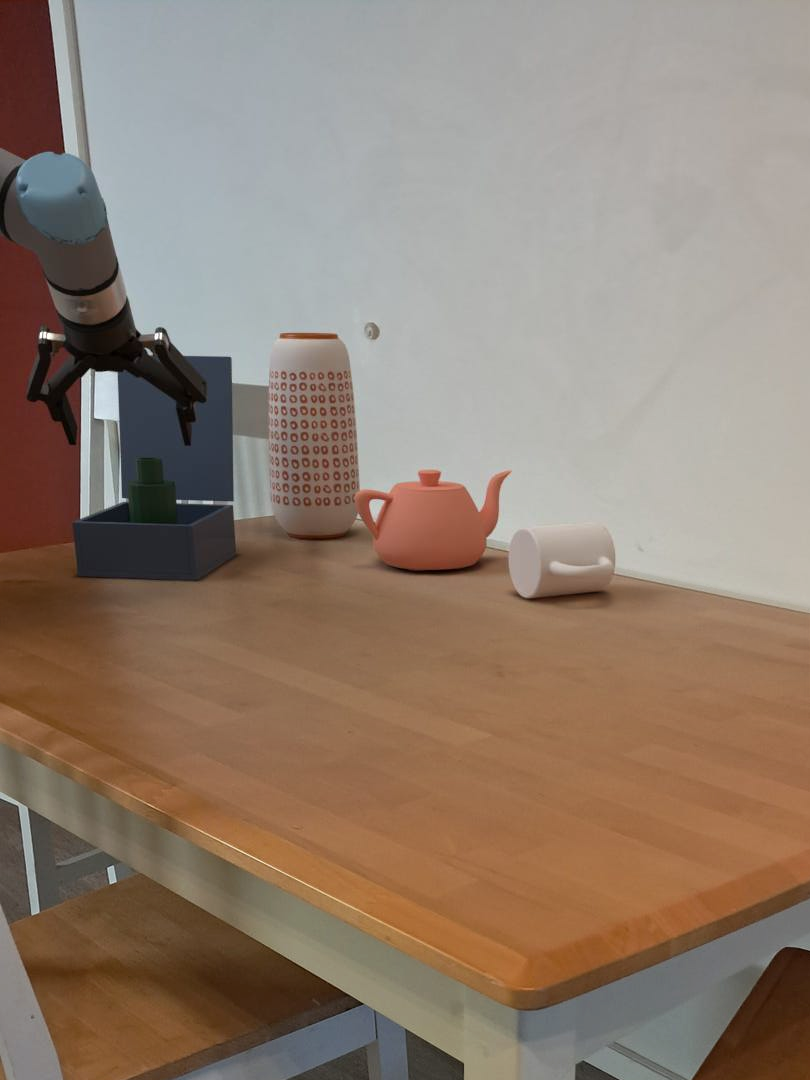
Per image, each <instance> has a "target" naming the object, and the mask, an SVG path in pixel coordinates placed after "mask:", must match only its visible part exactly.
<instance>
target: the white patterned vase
mask: <svg viewBox="0 0 810 1080" xmlns="http://www.w3.org/2000/svg"><path fill="white" fill-rule="evenodd" d="M348 351H349V350H348V348H347V346H346V344H345V342H344V341H343V340H342V339H340V338H339V335H338V333H332V332H331V333H330V332H280V333H279V338H277V339H276V340H275V341H274V342H273V344H272V346H271V350H270V354H269V355H270V356H269V371H268V373H269V374H268V451H269V452H268V462H269V463H268V464H269V465H268V466H269V495H270V496H269V497H270V504H271V505H270V506H271V510H272V513H273V515H274V518H275V520H276V521H277V523H278V524H279V525H280V527H281V528H282V529H283V530H284V531H285V532H286V534H287V535H288V536H289V537H291V538H297V539H303V540H326V539H335V538H340V537H343V536H345V535H347V533H348V531H349V530H350V529H351V527H352V526H353V525H354V523H355V521H356V519H357V517H358V515H359V514H358V511H357V509H356V506H355V498H354V497H355V494H356V493H357V492H358V491H360V490H361V489H360V488H361V486H360V471H359V470H360V469H359V451H358V450H359V449H358V433H357V420H356V419H357V418H356V406H355V396H354V386H353V377H352V369H351V362H350V354H349V352H348Z"/></svg>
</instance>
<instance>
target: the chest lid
mask: <svg viewBox="0 0 810 1080" xmlns="http://www.w3.org/2000/svg"><path fill="white" fill-rule="evenodd" d="M149 355H150V356H151V357H152V358H154V359H155V360H157V361H158V362H159V363H161V362H160V360H159V358H158V357H154V356H153V354H149ZM183 356H184V357H185V358H186V359H187V360H188V362H189V363H190V364H191V365H192V366H193V367H194V368H195V369H196V370H197V371H198V373H199V374H200V375H201V376H202V377H203V378H204V379H205V380H206V381H207V401H206V402H205V403H199V402H197V401H196V402H195V405H196V409H197V412H196V421H195V422H191V426H192V436H191V446H185V445H184V441H183V436H182V432H181V428H180V424H179V420H178V416H177V411H176V401H175V400H174V399H172V398H171V397H169V396H168V395H166V394H165V393H163V392H162V391H161V390H159V389H158V388H156V387H155V386H153V385H152V384H150V383H149V382H147V381H146V380H144V379H143V378H142V377H139V378H136V377H135V376H133V375H132V374H130V373H129V372H127V371H126V370H124V372H117V390H118V391H117V395H118V398H117V399H118V400H117V401H118V425H119V426H118V427H119V450H120V451H119V453H120V454H119V455H120V482H121V498H122V499H128V490H127V483H128V482H131V481H137V469H136V458H142V457H158V458H162V466H163V478H164V480H169V481H174V482H175V490H176V501H201V502H202V501H204V502H234V501H235V498H234V497H235V495H234V494H235V493H234V491H235V489H234V488H235V487H234V485H235V484H234V431H233V430H234V427H233V425H234V424H233V423H234V422H233V370H232V369H233V364H232V363H233V359H232V357H231V356H222V355H221V356H219V355H218V356H217V355H216V356H215V355H212V356H211V355H183ZM134 363H135V361H134ZM161 364H162V363H161ZM162 365H163V364H162Z"/></svg>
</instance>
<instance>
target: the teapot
mask: <svg viewBox="0 0 810 1080" xmlns="http://www.w3.org/2000/svg"><path fill="white" fill-rule="evenodd" d="M512 472H513V470H512V469H509V470H505V471H502V472H499V473H497V474H495V475H494V476H492V477H491V479H490V480H489V482H488V484H487V487H486V492H485V499H484V503H483V506H482V507H481V509H480V510H479V509H478V506H477V505H476V503H475V502H474V500H473V497H472V496H471V494H470V492H469V491H468V489H467V488H466V487H465V485H464V484H461V483H458V482H453V481H443V480H440V478H441V476H442V471H440V470H438V469H420V470H418V471H417V476H418V479H419V480H416V481H413V480H412V481H403V482H398V483H395V484H394V485H393V486H392V488H391V489H390V491H389V492H384V491H380V490H374V489H369V488H368V489H365V488H364V489H360V491H358V492H357V493H356V494H355V497H354V498H355V506H356V509H357V511H358V515H359V517H360V519H361V521H362V523H363V524H364V525H365V527H366V528H367V530H368V532H369V533H370V534H371V535H372V547H373V549H374V551H375V553H376V554H377V555H378V557H379V558H380V559H381V560H382V561H383V563H384V564H386V565H388V566H391V567H395V568H400V569H405V570H408V571H412V572H422V571H423V572H424V571H425V570H426V571H430V570H431V571H438V570H439V571H440V570H453V569H454V570H455V569H456V570H457V569H465V568H466V567H471V566H473V565H475V564H476V563H477V562H478V561H479V560H480V559H481V557H482V556H483V554H484V553H485V551H486V549H487V538H488V537H489V536H491V534H492V533H493V532H494V530H495V529H496V527H497V524H498V522H499V516H500V492H501V488H502V485H503V482H504V481H505V479H506V478H507V477H508V476H509V475H510V474H511V473H512ZM372 500H373V501H374V500H381V501H383V504H382V505H381V508H380V510H379V512H378V514H377V517H376V520H375V521H374V518H373V515H372V511H371V508H370V502H371V501H372Z"/></svg>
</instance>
